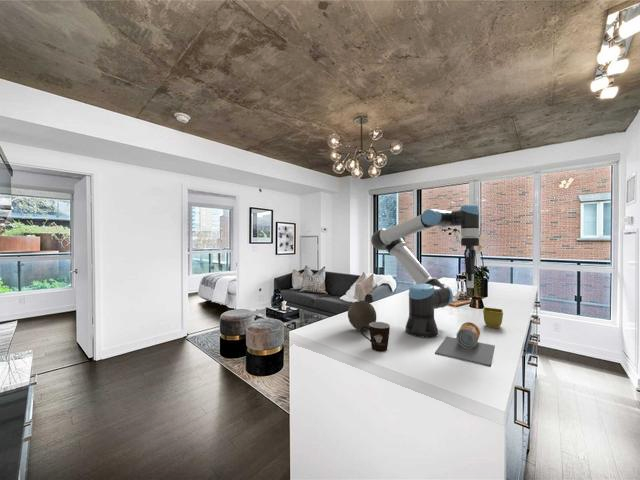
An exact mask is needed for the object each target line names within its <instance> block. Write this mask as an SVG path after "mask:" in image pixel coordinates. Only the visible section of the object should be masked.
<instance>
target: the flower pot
mask: <svg viewBox="0 0 640 480" xmlns="http://www.w3.org/2000/svg"><path fill="white" fill-rule="evenodd" d="M482 313H483V314H482V315H483V320H484V324H485V325H486V327H488V328H493V329H500V327H501V325H502V323H503V317H504V311H503V309H501V308H496V307H495V308H494V307H486V306H485V307H483V309H482Z"/></svg>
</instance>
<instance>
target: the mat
mask: <svg viewBox="0 0 640 480" xmlns="http://www.w3.org/2000/svg"><path fill="white" fill-rule="evenodd" d="M495 346H496V345H495V344H489V343H484V342H479V341H478V342H477V345H476V346H475V347H473V348H465V347H463V346H461V345H460V344H459V343H458V341H457V338H456V337H453V336H446V337H445V338H444V339H443V341H442V342H441V343H440V345H439V346H438V348H437V349H436V350H435V352H434V354H435V355H438V356H442V357H447V358H453V359H455V360H460V361H464V362H465V361H466V362H470V363H474V364H478V365H482V366H487V367H491V365H492V362H493V356H494V352H495Z"/></svg>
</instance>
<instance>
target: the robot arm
mask: <svg viewBox="0 0 640 480" xmlns="http://www.w3.org/2000/svg"><path fill="white" fill-rule="evenodd" d="M479 223H480V212H479V206H478V205H477V204H464V205H461V206H460V209H459V210H444V209H443V210H442V209H435V208H428V209H426V210H424V211H423V212H422V214H420V215H417V216H414V217H411V218H410V219H408V220H405V221H403V222H401V223H398V224H395V225H394V226H391V227H388V228H381V229H380V230H377V231H374V233H373V234H372V235H371V238H370V239H371V240H370V241H371V245H372V247H373V248H375V249H376V250H378V251H387V253H388V254H389V255H390V256H392V257H395V259H396V260H397V261H398V262H399V264H400V265H401V266H402V267H403V269H404V270H405V271H406V273H408V275H409V276H410V277H411V279H412V280H413V281H414V282H415V284H411V286H410V287H409V290H408V318H407V321H406V324H405V333H406V334H408V335H410V336H413V337H416V338H417V337H418V338H424V339H425V338H428V339H429V338H437V336H438V335H439V329H438V326H437V323H436V320H435V309H440V308H441V309H442V308H445V307H446V306H449V305H450V304H451V303H452V301H453V298H454V297H453V296H454V293H453V291H452V288H451V287H450V286H449V285H447V284H445V283H441V281H440V280H439V279H438V278H437V277H433V276H431V275H430V273H429V272H428V271H427V270H426V268H424V266H423V265H422V264H421V262H419V261H418V258H416V257H415V256H414V255H413V253H412V252H411V251H410V250H409V249H408V247H407V246H408V245H407V243H406V237H408V236H410V235H413V234H416V233H419V232H421V231H424V230H427V229H430V228H433V227H436V226H438V227H445V228H447V227H455V226H456V227H457V226H458V227H459V226H460V237H461V239H460V245H461V247H465V250H464V253H463V255H464V265H465V267H464V269H465V271H464V274H466V288H468V289H475V277H474V276H475V274H476V273H477V272H476V271H475V270H476V269H475V267H476V250H475V247H479V246H480V238H479V236H480V233H481V230H480V228H479V227H480V226H479V225H480V224H479Z"/></svg>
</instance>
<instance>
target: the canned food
mask: <svg viewBox="0 0 640 480" xmlns="http://www.w3.org/2000/svg"><path fill="white" fill-rule="evenodd" d="M455 336H456V337H455V338H457V341H458V343H459V344H460V345H461V346H463V347H465V348H473V347H475V346H476V345H477V342H479V338H480V336H481V329H480V328H479V326H478V325H477V324H475V323H473V322H470V321H469V322H468V321H467V322H464V323H463V324H462V325H460V327H459V329H458V331H457V333H456V335H455Z"/></svg>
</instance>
